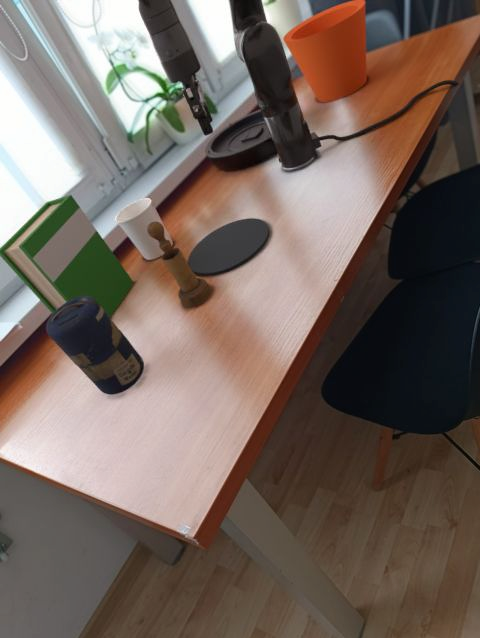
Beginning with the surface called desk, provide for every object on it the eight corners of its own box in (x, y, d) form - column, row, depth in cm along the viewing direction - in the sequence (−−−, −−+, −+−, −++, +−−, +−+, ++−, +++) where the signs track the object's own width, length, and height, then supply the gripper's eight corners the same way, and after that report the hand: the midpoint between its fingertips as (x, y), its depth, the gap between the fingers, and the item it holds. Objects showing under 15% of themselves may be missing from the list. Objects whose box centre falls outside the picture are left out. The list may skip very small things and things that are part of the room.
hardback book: (98, 335, 105) (21, 245, 90) (74, 337, 108) (-4, 251, 93) (134, 282, 116) (70, 194, 101) (111, 286, 119) (46, 202, 104)
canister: (107, 369, 94) (45, 301, 83) (149, 352, 93) (93, 280, 81) (99, 405, 87) (31, 336, 76) (145, 387, 85) (83, 314, 74)
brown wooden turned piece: (206, 304, 97) (160, 229, 85) (179, 310, 99) (131, 238, 88) (214, 283, 101) (171, 209, 90) (188, 289, 104) (143, 218, 92)
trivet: (261, 210, 116) (260, 207, 116) (277, 249, 101) (276, 246, 100) (187, 245, 119) (186, 243, 118) (191, 288, 103) (190, 285, 103)
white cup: (181, 235, 124) (157, 194, 117) (166, 259, 118) (139, 217, 111) (152, 241, 129) (127, 202, 121) (135, 264, 123) (108, 224, 115)
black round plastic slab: (198, 183, 146) (288, 160, 131) (189, 164, 142) (280, 139, 127) (232, 136, 164) (314, 111, 149) (224, 119, 160) (308, 92, 146)
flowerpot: (388, 83, 142) (372, 7, 130) (307, 117, 148) (284, 48, 136) (373, 62, 160) (357, -6, 148) (301, 94, 167) (281, 31, 154)
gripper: (191, 50, 95) (225, 131, 105) (192, 38, 105) (223, 112, 116) (156, 67, 96) (193, 145, 106) (161, 53, 107) (194, 125, 117)
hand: (209, 128), depth 111 cm, fingers open, 8 cm apart
